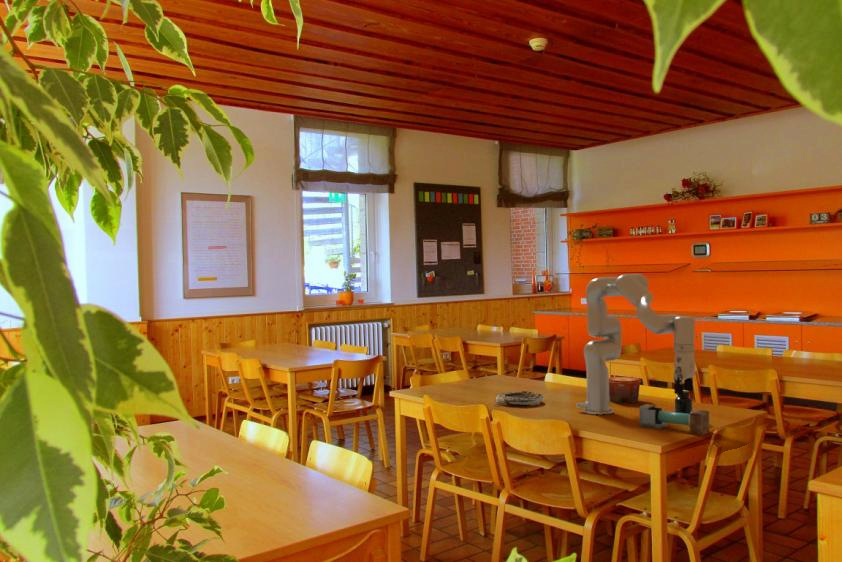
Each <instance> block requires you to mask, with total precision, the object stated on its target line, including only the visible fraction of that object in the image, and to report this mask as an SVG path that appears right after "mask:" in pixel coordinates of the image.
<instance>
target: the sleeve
mask: <svg viewBox="0 0 842 562" xmlns="http://www.w3.org/2000/svg"><path fill="white" fill-rule="evenodd" d="M655 405H656V404H648V403H645V404H643V405H640V406H639V408H638V410H639V411H638V412H639V413H638V414H639V415H638V416H639V419H638V420H639V428H645V427H646V428H647V429H652V428H654V429H653V430H659V429H660V430H662V429H665V428H667V427H668V423H665V422H659V421H658V413H659V411H663V407H661V406H660V407H659V406H658V407H657V406H655ZM666 426H667V427H666ZM664 427H665V428H664Z"/></svg>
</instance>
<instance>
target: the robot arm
mask: <svg viewBox="0 0 842 562" xmlns="http://www.w3.org/2000/svg"><path fill="white" fill-rule="evenodd" d="M607 297H624V298H625V299H626V300H627V301H628V302H629V303H630V304H632V305H633V307H634V308H635V310H636V314H637V315H636V316H637V317H638V320H639V322H640V323H641V324H642V325H643V326H644V327H645V329H647V330H648V331H649V332H651V333H653V334H655V335H665V334H673V352H674V362H673V380H674V381H673V383H674V394H675V395H677V394H681V395H682V394H683V390H684V391H689V392H691V391H693V390H694V377H695V375H696V363H695V362H696V361H695V359H696V358H695V343H696V342H695V339H696V338H695V337H696V335H695V331H696V330H695V329H696V328H695V327H696V325H695V322H696V321H695V318H694V316H689V315H679V314H675V313H668V314H667V313H666V314H665V313H663V314H657V312H655V311H654V310H653V309H652V308H651V307H650V305H651V304H652V302H653V301H654V294H652V292H651V291H650V290H649V281H648V279H647V277H646V276H645V275H643V274H641V273H625V274H621V275H620V276H603V277H601V276H600V277H597V278H596V277H595V278H594V279H591V280H590V281H589V282H588V284H587V285H586V288H585V300H586V328H587V333H588V336H590V337H592V338H603V339H597V340H591V341H588V342H587V343H586V344H585V346H584V348H583V354H584V355H583V358H584V360H585V361H584V362H585V369H586V372H585V373H586V400H585V401H584V402H576V404H575V405H576V406H575V407H576V408H581V409H583V413H585V414H590V415H596V414H598V415H602V416H603V414H605V415H610V414H613V413H614V409H613V408H611V407H610V398H609V378H610V377H609V375H610V372H609V369H608V366H607V363H606V362H609V361H615V360H617V359H619V357H620V356H621V354H622V325H621V321H620V319H619V318H618V317H617V316H615V315H614V314H608V306H607V302H606V301H605V298H607Z"/></svg>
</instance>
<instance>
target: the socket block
mask: <svg viewBox="0 0 842 562" xmlns="http://www.w3.org/2000/svg"><path fill="white" fill-rule="evenodd" d="M689 431H690V432H689V434H690V435H695V436H704V435H705V434H708V433H710V411H709V410H704V409H703V410H702V409H696V410H693V412H692V413H690V427H689Z"/></svg>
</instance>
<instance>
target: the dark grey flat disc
mask: <svg viewBox="0 0 842 562" xmlns="http://www.w3.org/2000/svg"><path fill="white" fill-rule="evenodd" d="M543 400H544V395H542V394H541V393H538V392H534V391H529V390H521V391H515V392H514V391H507V392H506V391H505V392H502V393H500V394H498V395H497V396H496V397H495V402H493V404H494V406H495V407H497V406H498V405H499V406H500V405H501V406H511V407H514V406H515V407H533V406H540V403H541V402H542V401H543Z"/></svg>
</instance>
